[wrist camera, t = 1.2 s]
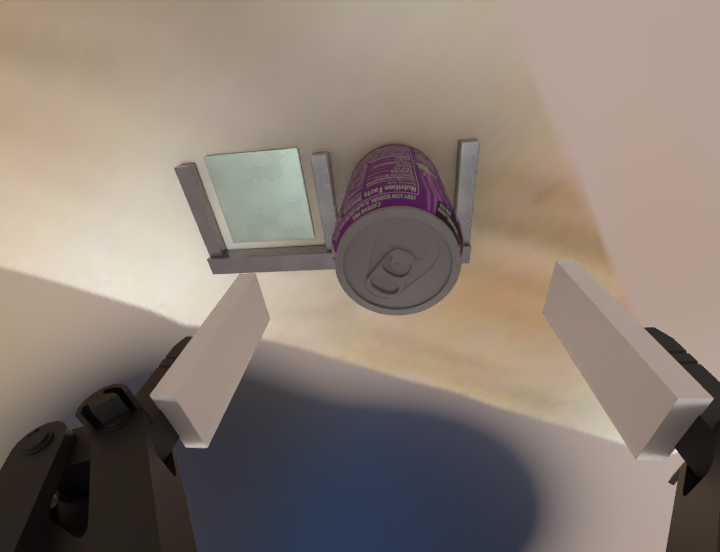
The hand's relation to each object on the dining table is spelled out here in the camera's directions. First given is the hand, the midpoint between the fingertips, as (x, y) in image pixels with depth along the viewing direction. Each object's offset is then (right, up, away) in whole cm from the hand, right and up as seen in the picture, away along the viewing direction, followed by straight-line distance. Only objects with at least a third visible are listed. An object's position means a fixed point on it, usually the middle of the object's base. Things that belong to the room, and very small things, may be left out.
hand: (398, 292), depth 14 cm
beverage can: (+1, +8, +11) cm, 14 cm away
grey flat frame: (-4, +7, +12) cm, 15 cm away
